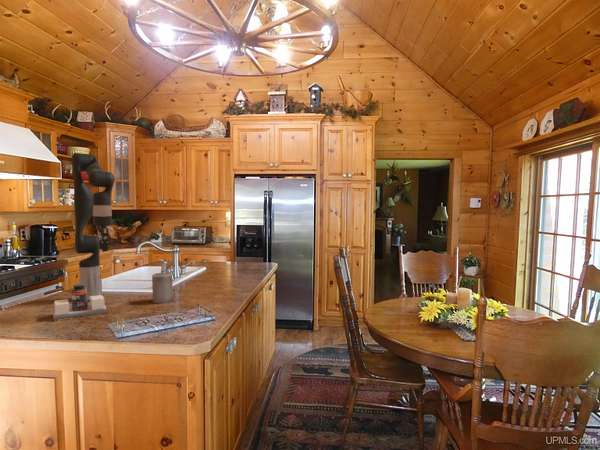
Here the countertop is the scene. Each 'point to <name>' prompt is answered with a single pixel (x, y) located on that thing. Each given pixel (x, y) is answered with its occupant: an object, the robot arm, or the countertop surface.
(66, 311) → the rail board
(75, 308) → the supplement bottle
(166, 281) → the pillar candle
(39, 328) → the countertop surface
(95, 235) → the robot arm
